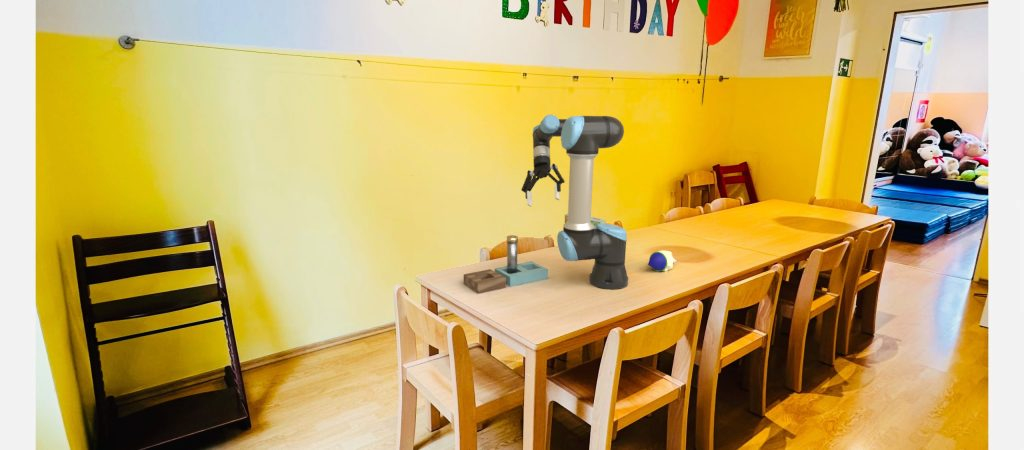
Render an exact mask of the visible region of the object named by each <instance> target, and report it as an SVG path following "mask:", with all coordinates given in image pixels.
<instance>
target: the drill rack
mask: <svg viewBox="0 0 1024 450" xmlns="http://www.w3.org/2000/svg"><path fill="white" fill-rule="evenodd" d="M494 272H496V273H498V274H500V275H502V276H503V277H505V278H506V286H508V287H509V288H511V287H516V286H521V285H525V284H529V283H534V282H539V281H543V280H544V281H545V280H548V279H549V269H548V267H547V268H546V267H544V266H542V265H540V264H538V263H536V262H534V261H526V262H525V261H524V262H521V263H517V273H513V274H508V273H507V265H505V266H501V267H500V266H499V267H496V268H494Z"/></svg>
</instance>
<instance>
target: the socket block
mask: <svg viewBox="0 0 1024 450" xmlns="http://www.w3.org/2000/svg"><path fill="white" fill-rule="evenodd" d="M463 285H465V286H466V287H467V288H469V289H470V290H472V291H474V292H475V293H476V294H478V295H479V294H483V293H487V292H488V293H489V292H492V291H493V292H494V291H497V290H502V289H507V285H506V278H505V277H503V276H502V275H500V274H498V273H496V272H495V270H492V269H484V270H479V271H473V272H468V273H463Z"/></svg>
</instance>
